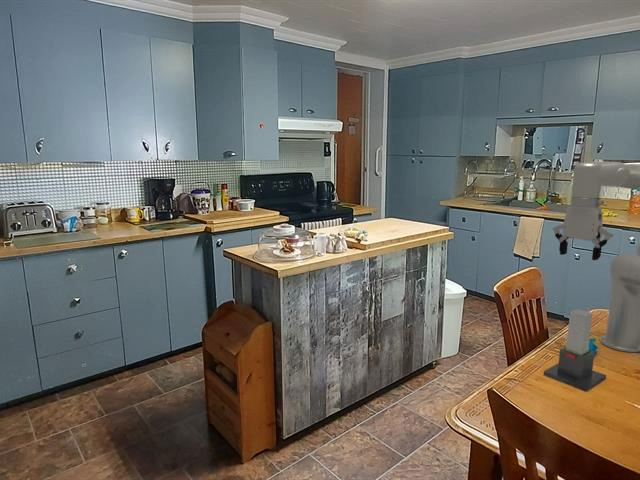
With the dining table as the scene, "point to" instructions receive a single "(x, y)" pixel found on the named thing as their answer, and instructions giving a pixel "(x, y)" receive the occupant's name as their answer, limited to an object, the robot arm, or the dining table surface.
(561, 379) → the stand
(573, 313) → the post
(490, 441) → the dining table surface
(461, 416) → the dining table surface
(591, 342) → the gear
